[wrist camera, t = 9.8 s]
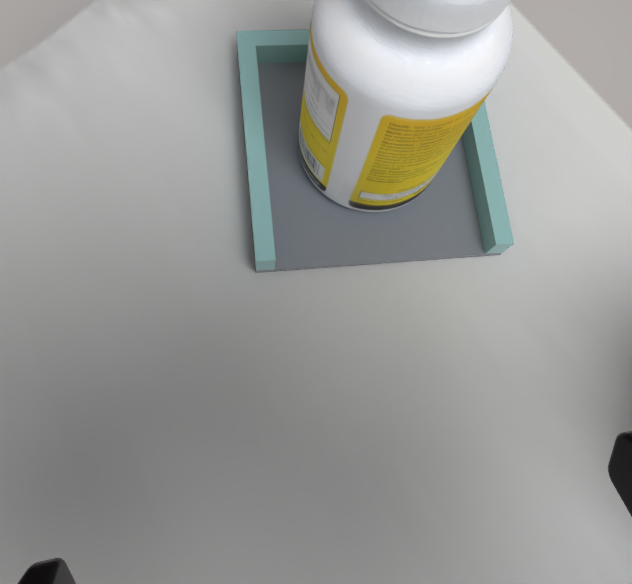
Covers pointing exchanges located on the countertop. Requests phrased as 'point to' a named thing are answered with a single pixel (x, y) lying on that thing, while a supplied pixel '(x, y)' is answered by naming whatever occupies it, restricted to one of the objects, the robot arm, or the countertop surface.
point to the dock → (337, 220)
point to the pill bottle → (394, 92)
